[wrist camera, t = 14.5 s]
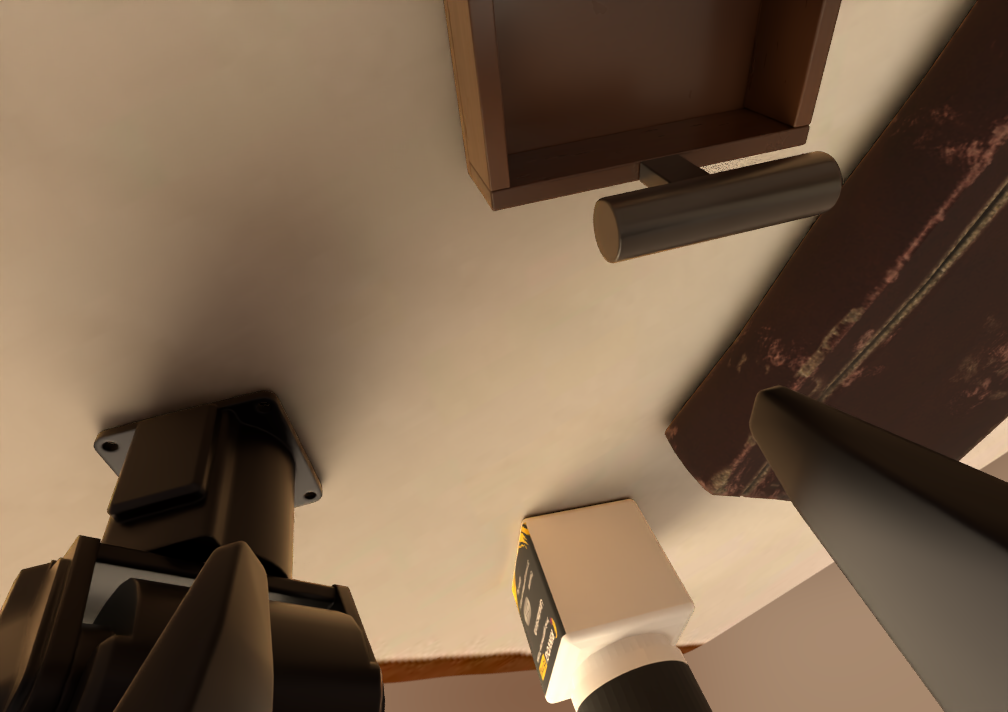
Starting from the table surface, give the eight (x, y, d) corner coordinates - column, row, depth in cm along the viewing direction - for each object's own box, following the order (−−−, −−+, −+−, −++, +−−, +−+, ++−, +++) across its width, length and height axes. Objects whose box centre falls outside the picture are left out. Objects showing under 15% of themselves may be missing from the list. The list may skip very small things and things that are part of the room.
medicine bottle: (520, 516, 31) (609, 764, 21) (634, 495, 32) (761, 714, 23) (509, 586, 35) (580, 819, 26) (611, 564, 37) (711, 773, 27)
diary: (650, 425, 29) (703, 500, 25) (1057, -161, 17) (1274, -190, 13) (860, 454, 37) (923, 514, 33) (1232, 72, 25) (1397, 96, 21)
